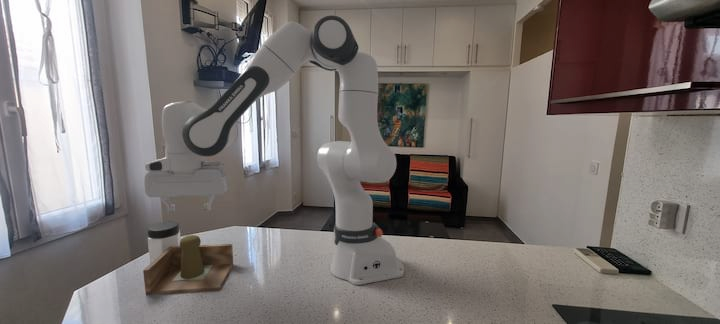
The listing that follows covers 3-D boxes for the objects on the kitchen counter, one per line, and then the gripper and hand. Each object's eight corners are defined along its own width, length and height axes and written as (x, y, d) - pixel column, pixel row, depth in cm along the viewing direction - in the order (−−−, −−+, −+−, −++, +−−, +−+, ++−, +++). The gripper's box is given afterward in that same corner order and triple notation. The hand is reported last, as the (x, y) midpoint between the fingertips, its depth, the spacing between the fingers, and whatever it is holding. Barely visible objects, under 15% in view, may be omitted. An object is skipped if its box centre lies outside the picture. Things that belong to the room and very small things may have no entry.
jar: (154, 257, 97) (151, 222, 95) (183, 253, 100) (180, 219, 98) (147, 271, 89) (143, 232, 87) (179, 266, 92) (176, 229, 90)
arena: (233, 264, 94) (232, 243, 93) (219, 289, 80) (217, 266, 79) (171, 267, 91) (169, 246, 90) (145, 294, 77) (143, 270, 76)
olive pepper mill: (175, 277, 84) (171, 240, 82) (190, 266, 90) (188, 231, 88) (194, 279, 83) (191, 242, 81) (208, 268, 89) (206, 233, 87)
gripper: (228, 159, 86) (231, 205, 89) (151, 160, 83) (156, 208, 86) (221, 163, 80) (225, 212, 83) (138, 165, 77) (144, 216, 80)
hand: (190, 210), depth 84 cm, fingers open, 8 cm apart
